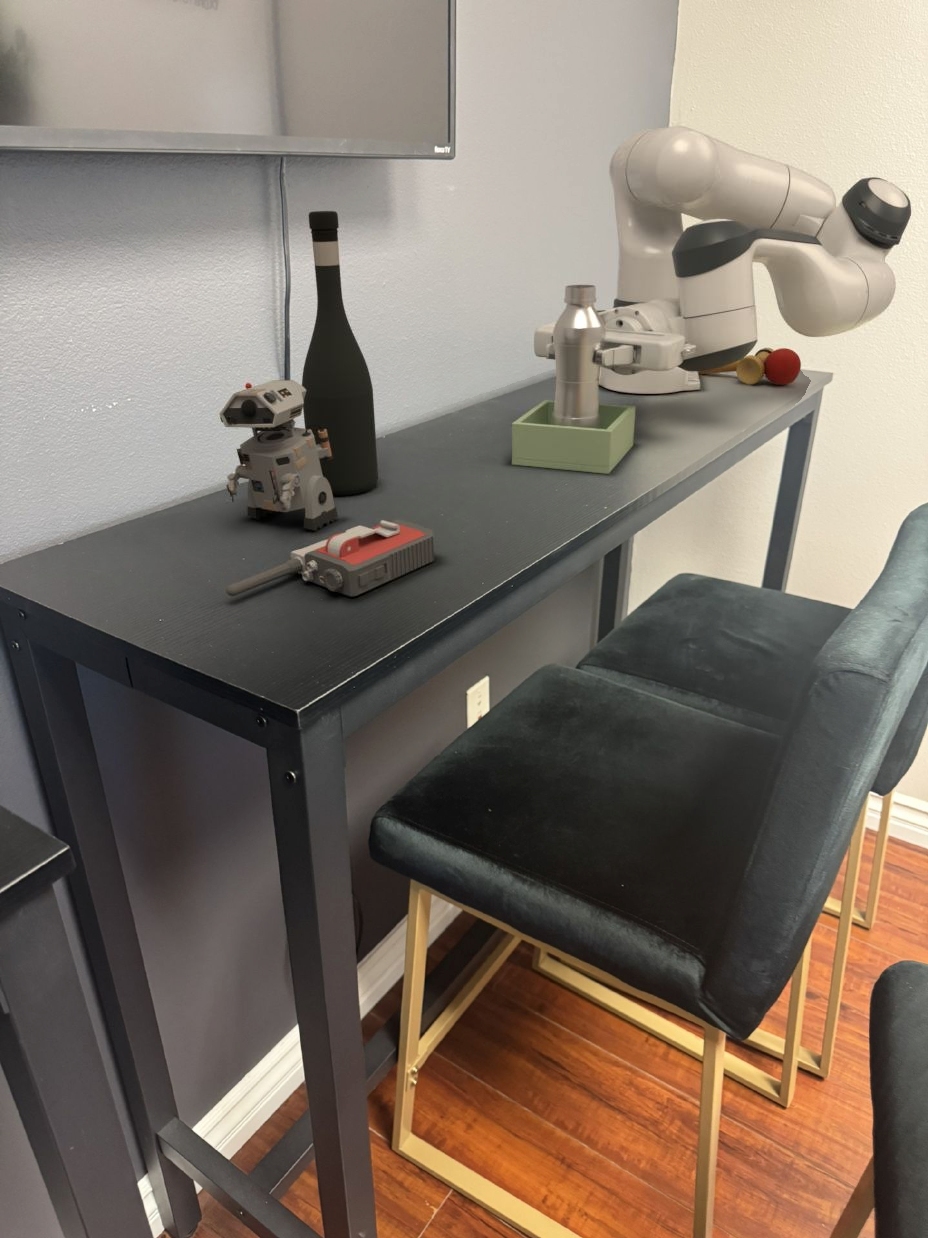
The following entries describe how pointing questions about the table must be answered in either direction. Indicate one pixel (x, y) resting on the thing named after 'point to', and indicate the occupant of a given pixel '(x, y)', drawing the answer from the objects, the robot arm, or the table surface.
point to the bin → (573, 440)
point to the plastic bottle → (578, 359)
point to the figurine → (280, 454)
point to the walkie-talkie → (354, 559)
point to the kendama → (765, 367)
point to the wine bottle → (338, 374)
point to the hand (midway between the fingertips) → (574, 355)
